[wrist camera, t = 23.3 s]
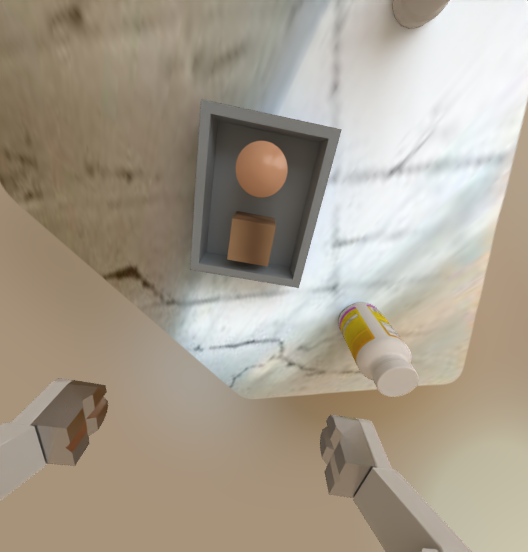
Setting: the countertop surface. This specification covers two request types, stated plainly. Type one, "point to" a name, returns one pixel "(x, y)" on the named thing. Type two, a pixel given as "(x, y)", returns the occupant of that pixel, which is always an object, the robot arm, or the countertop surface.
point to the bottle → (417, 11)
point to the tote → (282, 205)
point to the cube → (251, 238)
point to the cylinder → (261, 169)
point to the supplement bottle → (378, 349)
